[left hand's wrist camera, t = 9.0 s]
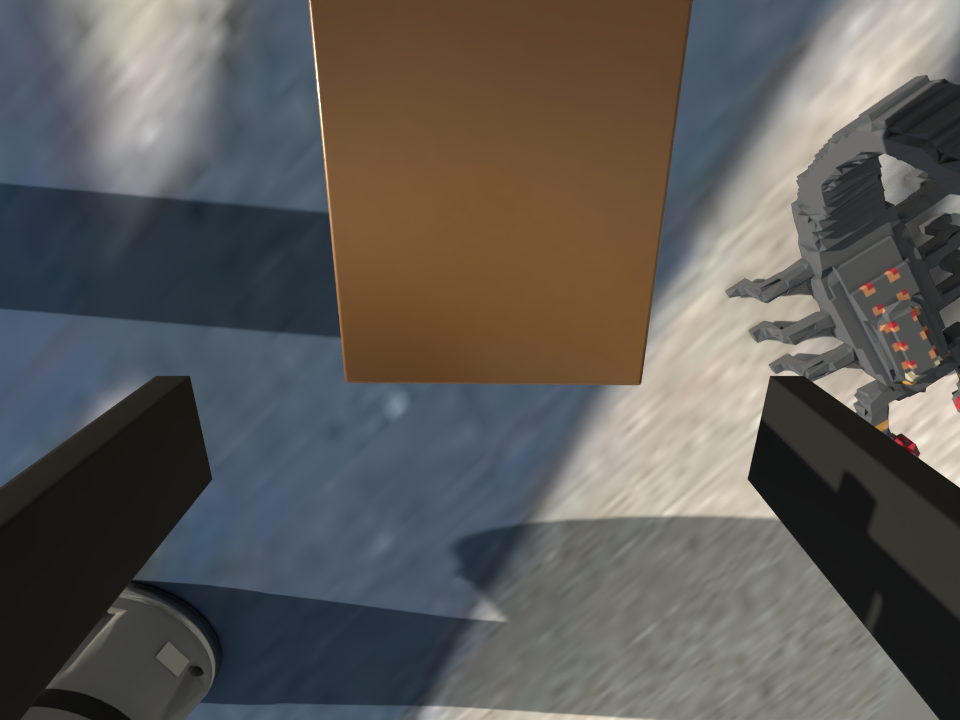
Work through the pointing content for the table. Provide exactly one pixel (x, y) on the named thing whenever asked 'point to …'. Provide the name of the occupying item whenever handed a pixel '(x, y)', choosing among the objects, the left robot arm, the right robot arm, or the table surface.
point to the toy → (877, 252)
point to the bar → (497, 183)
